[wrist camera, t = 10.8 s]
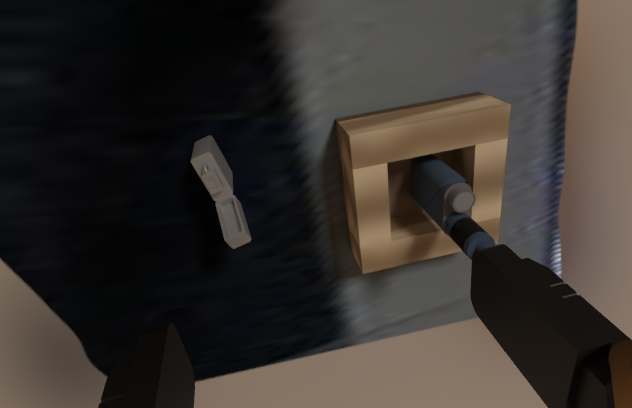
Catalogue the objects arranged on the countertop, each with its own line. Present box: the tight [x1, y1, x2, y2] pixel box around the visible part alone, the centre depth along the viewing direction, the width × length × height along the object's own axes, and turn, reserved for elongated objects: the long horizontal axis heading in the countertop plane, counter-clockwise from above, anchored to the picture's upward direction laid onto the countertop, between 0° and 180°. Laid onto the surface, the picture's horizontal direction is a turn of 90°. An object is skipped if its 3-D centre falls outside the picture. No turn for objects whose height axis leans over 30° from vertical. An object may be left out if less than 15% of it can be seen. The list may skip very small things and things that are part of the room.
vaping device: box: [411, 154, 495, 260], centre depth 36 cm, size 3×5×12 cm, turn 6°
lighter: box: [191, 135, 251, 249], centre depth 34 cm, size 7×2×8 cm, turn 22°
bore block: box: [335, 92, 511, 274], centre depth 39 cm, size 14×14×5 cm
